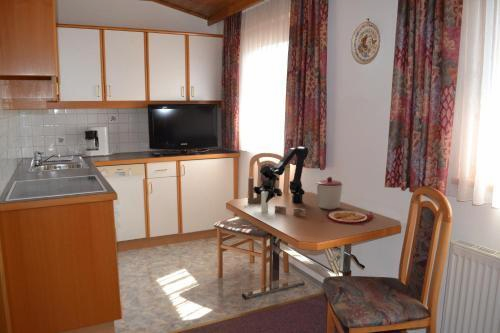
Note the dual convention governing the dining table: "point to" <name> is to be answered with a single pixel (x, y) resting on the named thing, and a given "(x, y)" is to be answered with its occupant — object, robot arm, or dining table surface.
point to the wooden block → (251, 191)
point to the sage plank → (264, 201)
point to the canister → (329, 193)
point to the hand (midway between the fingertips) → (263, 202)
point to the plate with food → (348, 217)
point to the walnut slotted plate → (296, 211)
